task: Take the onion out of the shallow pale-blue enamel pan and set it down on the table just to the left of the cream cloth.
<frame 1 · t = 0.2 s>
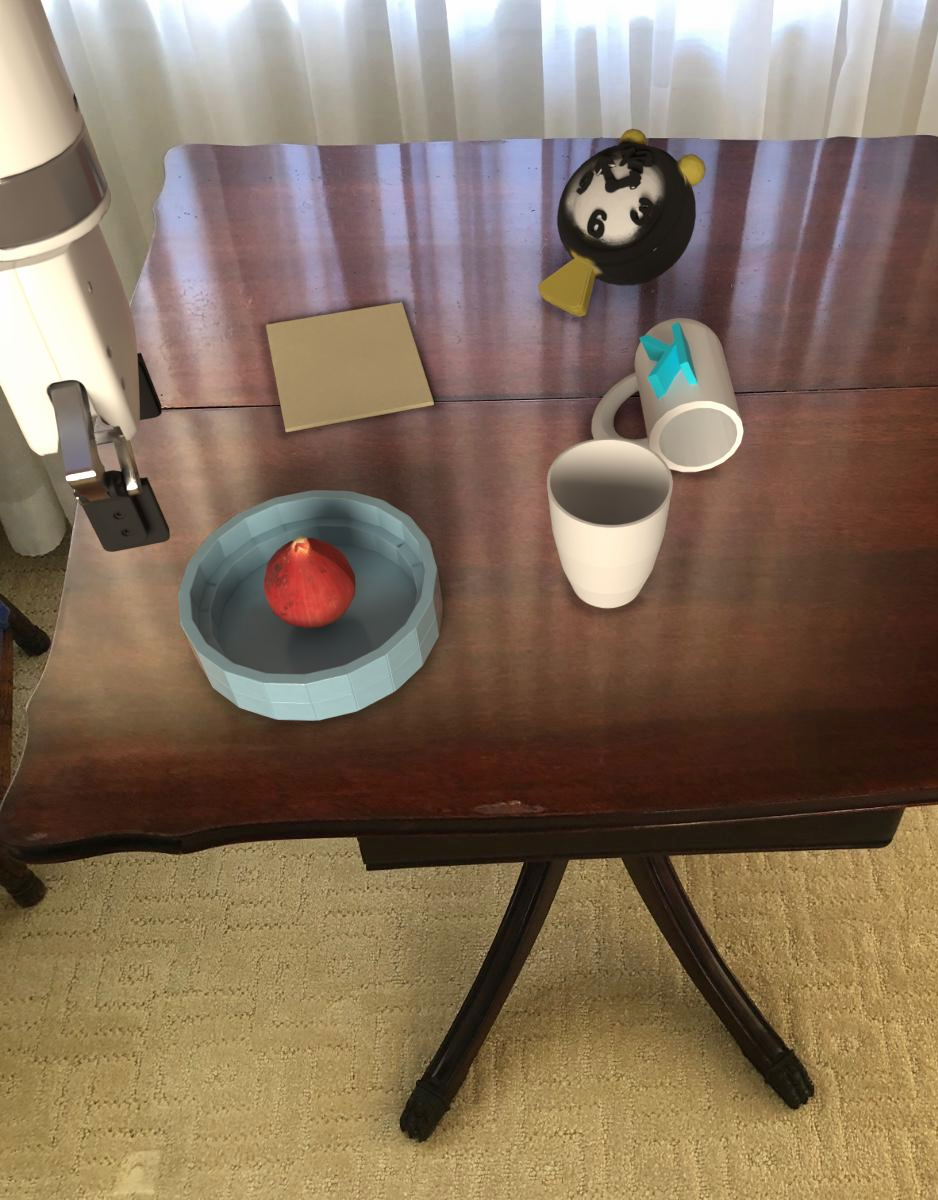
hand: (136, 477, 58), 18 cm above the table, tool pointing down, fingers open, 9 cm apart
cup: (606, 582, 79), on the table
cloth: (347, 365, 93), on the table
onion: (320, 620, 76), resting on pan
mug: (657, 423, 89), on the table
pan: (321, 622, 76), on the table
alarm clock: (618, 277, 102), on the table
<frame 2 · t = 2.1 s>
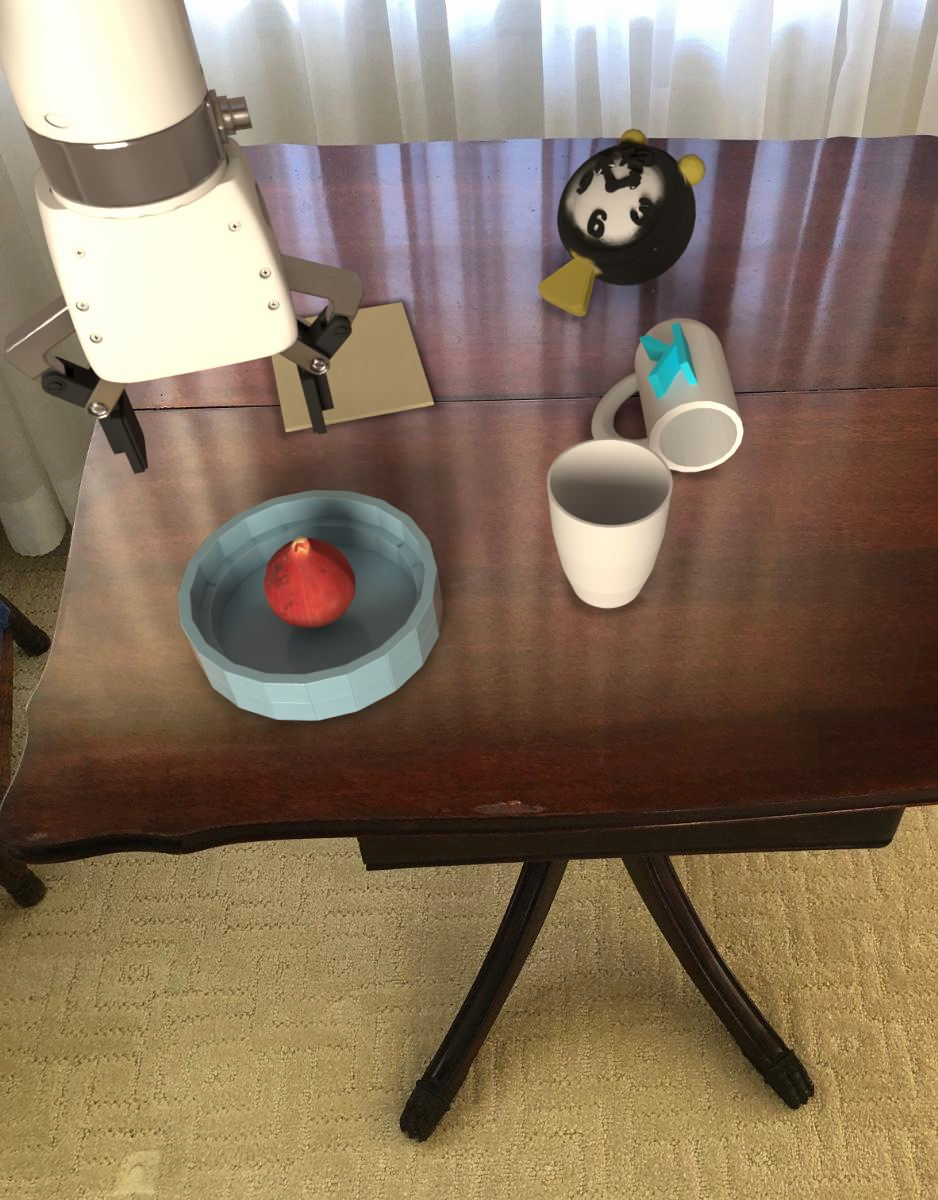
hand: (229, 436, 61), 18 cm above the table, tool pointing down, fingers open, 9 cm apart
nothing on the table moved.
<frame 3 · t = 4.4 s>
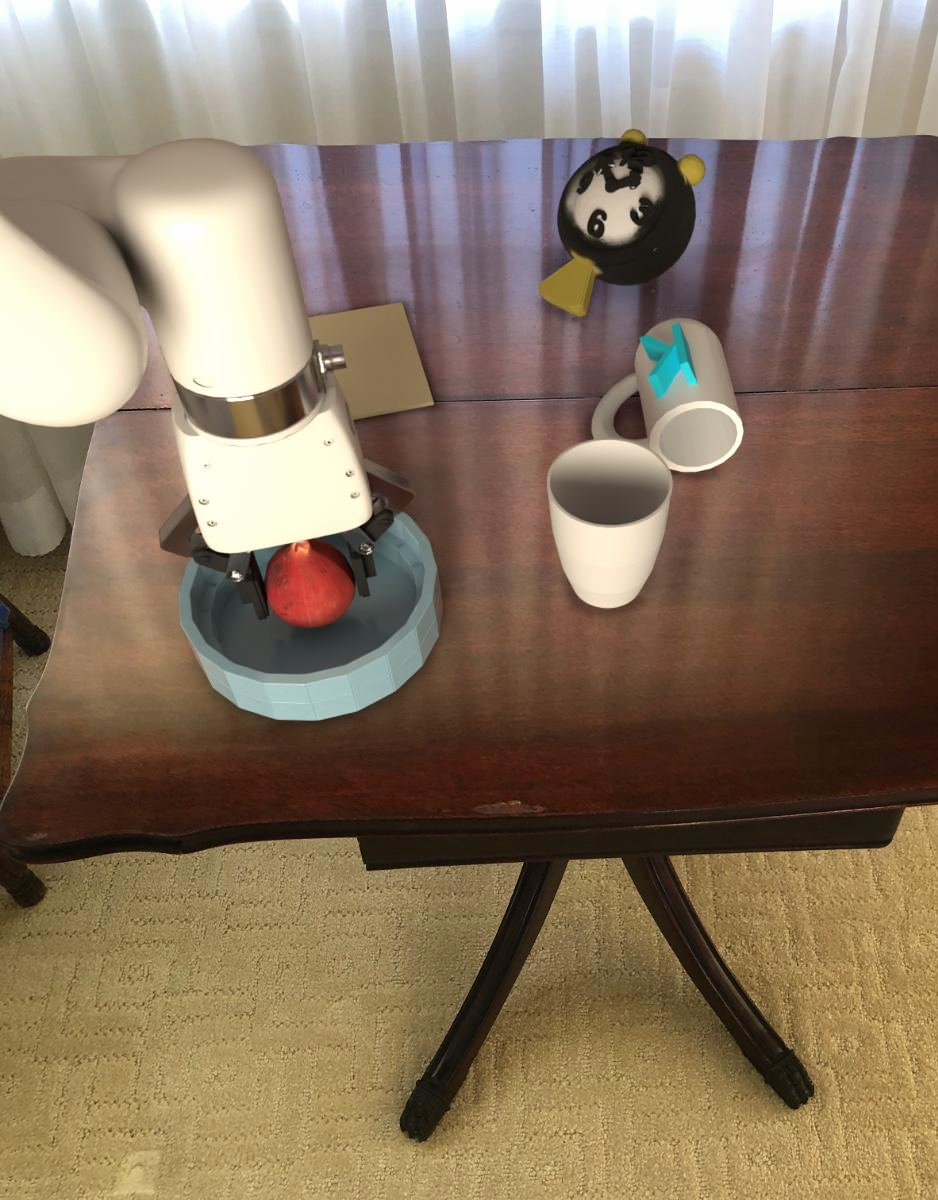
hand: (311, 590, 73), 3 cm above the table, tool pointing down, fingers closed on onion, 6 cm apart
onion: (320, 620, 76), resting on pan, touching gripper
everything else where it was.
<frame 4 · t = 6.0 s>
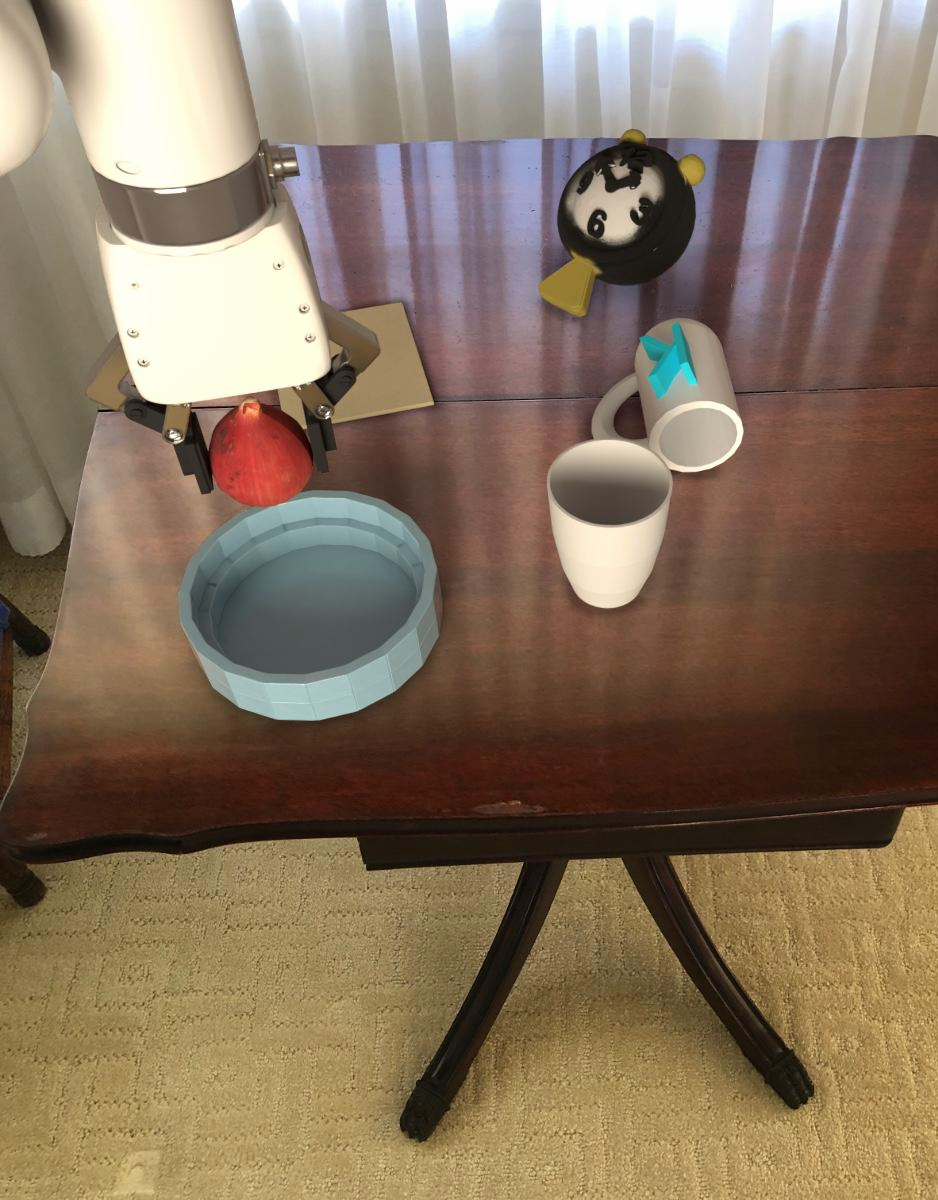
hand: (263, 465, 65), 14 cm above the table, tool pointing down, fingers closed on onion, 6 cm apart
onion: (274, 503, 67), point 11 cm above the table, touching gripper
everything else where it was.
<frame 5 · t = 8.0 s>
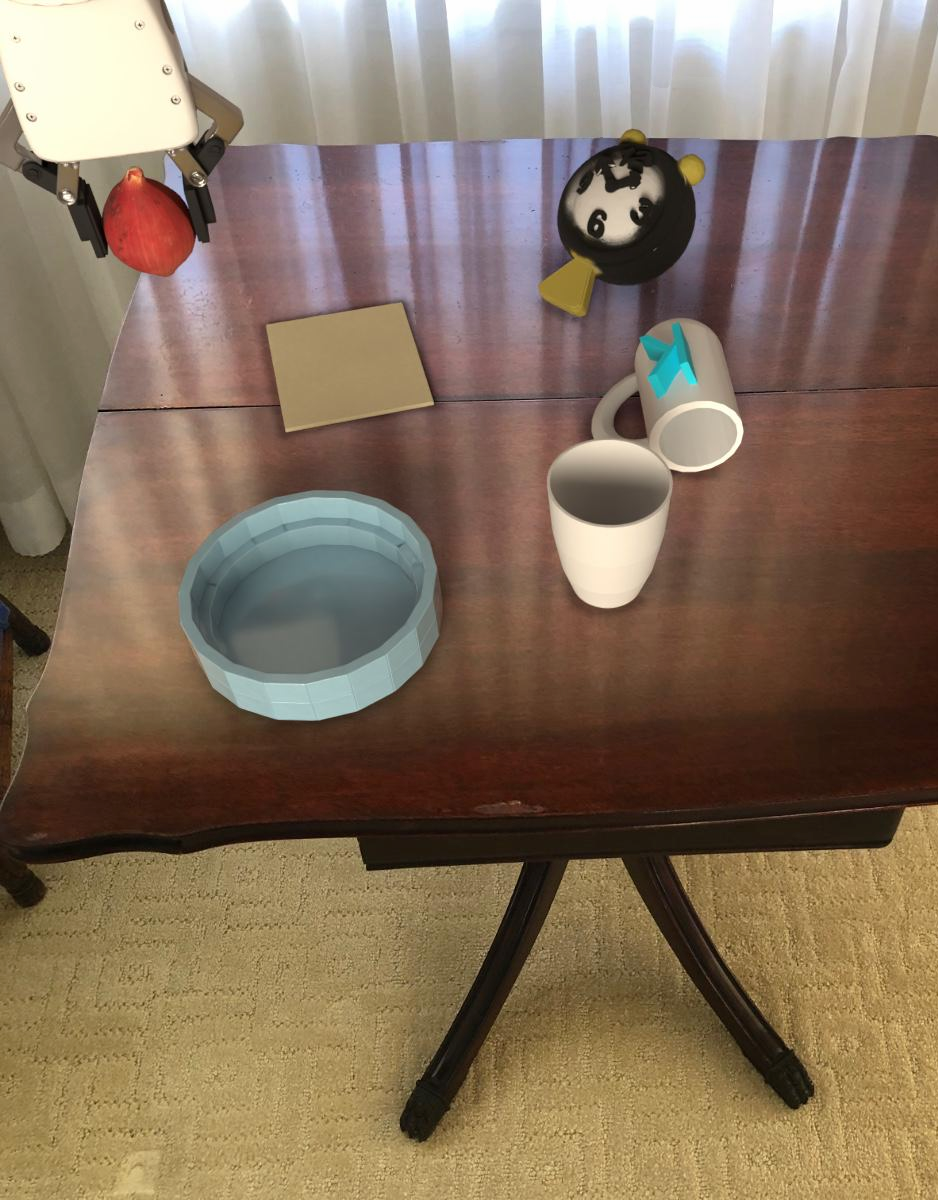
hand: (152, 237, 75), 17 cm above the table, tool pointing down, fingers closed on onion, 6 cm apart
onion: (166, 277, 77), point 14 cm above the table, touching gripper
everything else where it was.
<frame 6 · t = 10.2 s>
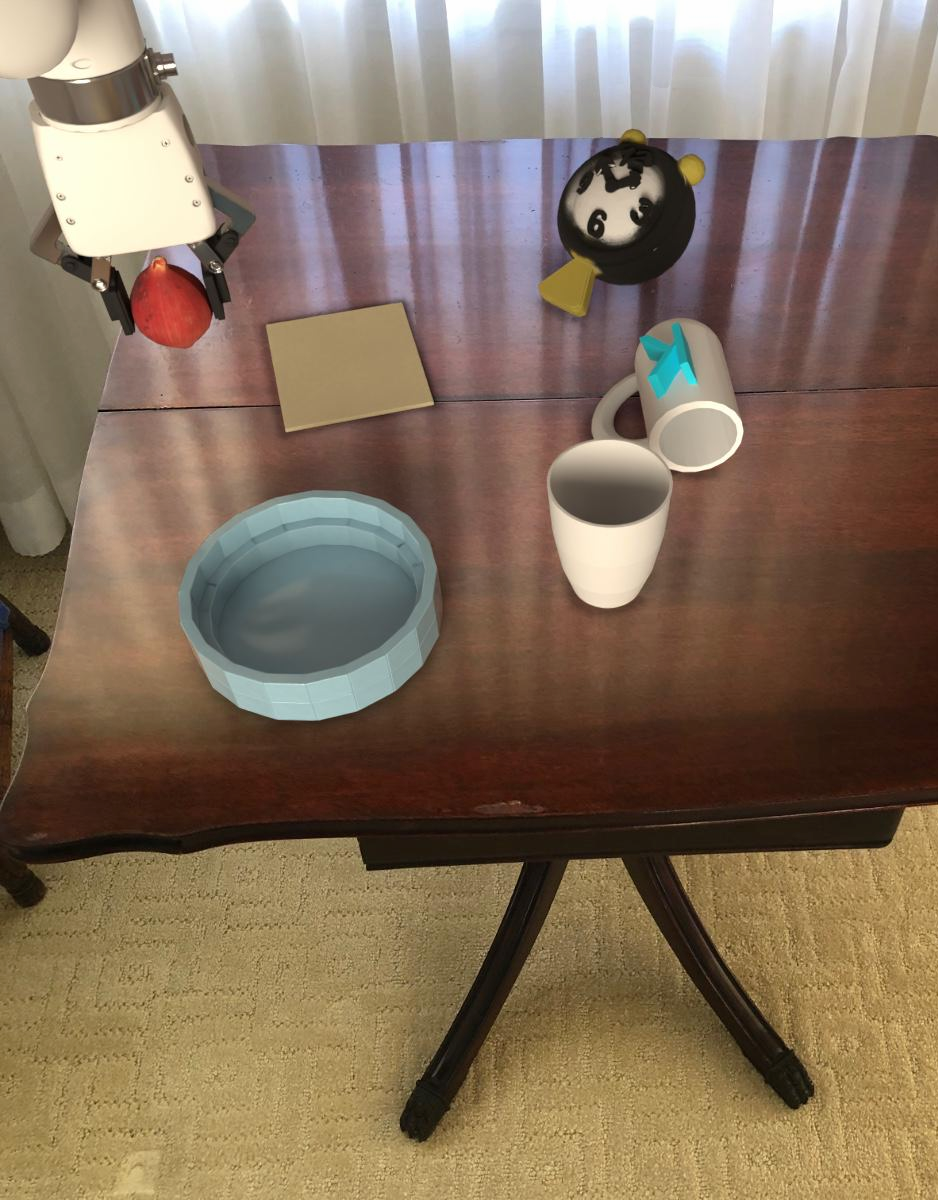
hand: (174, 315, 84), 8 cm above the table, tool pointing down, fingers closed on onion, 6 cm apart
onion: (186, 348, 86), point 5 cm above the table, touching gripper
everything else where it was.
when the fingers open (3 cm above the table, at t = 11.9 s): onion stays where it is, on the table.
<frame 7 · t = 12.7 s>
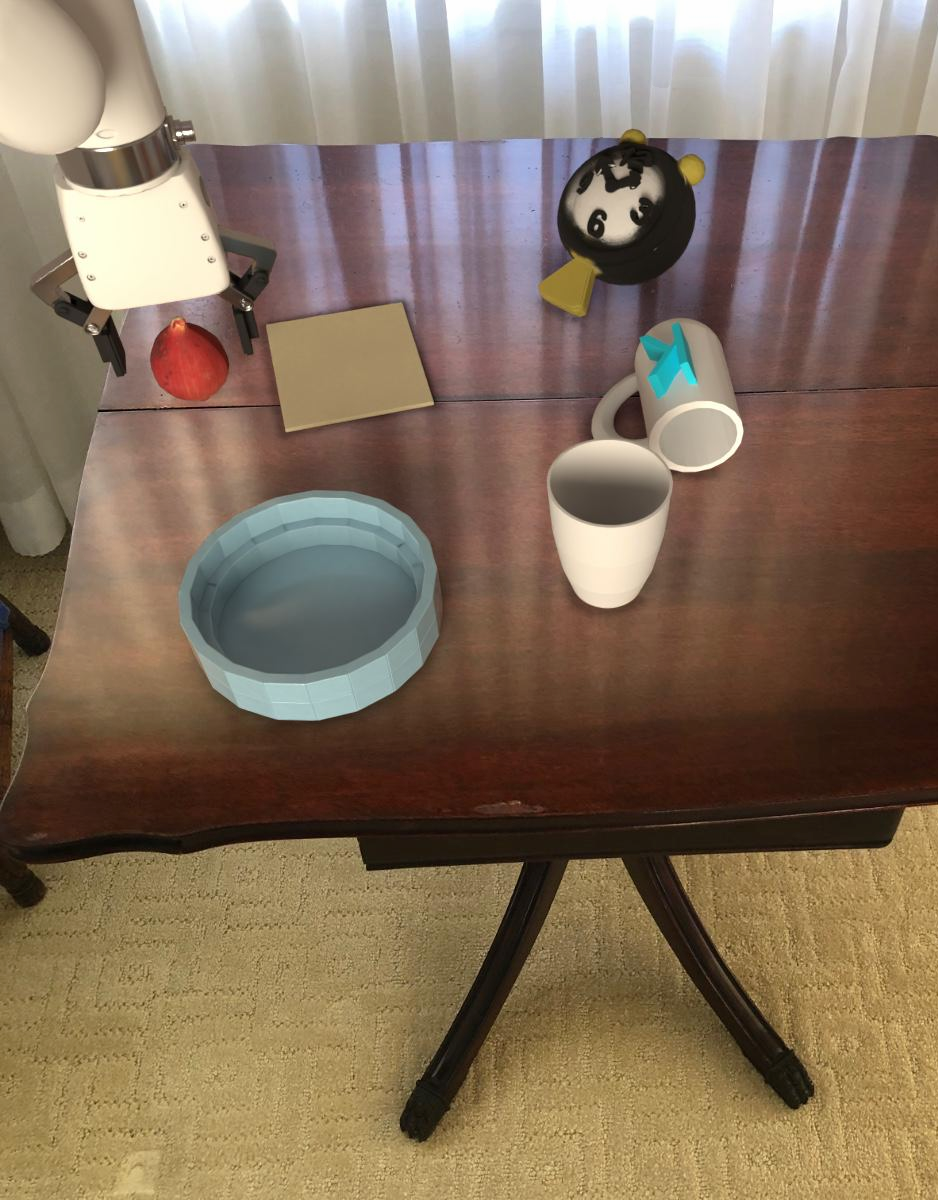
hand: (185, 355, 86), 5 cm above the table, tool pointing down, fingers open, 9 cm apart
onion: (203, 400, 90), on the table
everything else where it was.
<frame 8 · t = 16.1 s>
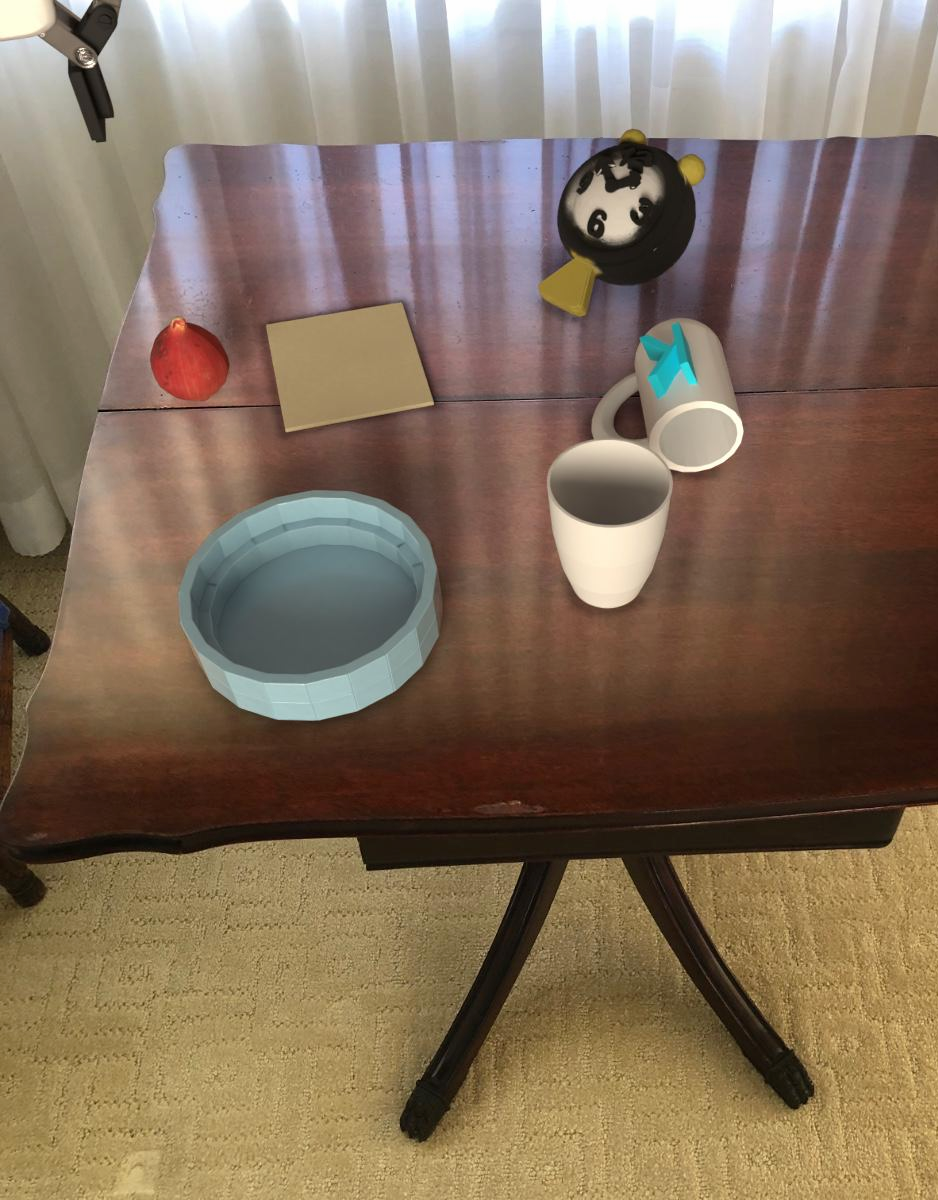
hand: (8, 142, 61), 28 cm above the table, tool pointing down, fingers open, 9 cm apart
nothing on the table moved.
at the end: onion inside the target area on the table beside the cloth (0.3 cm from its centre), on the table; onion touching table; onion tilted 0° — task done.
